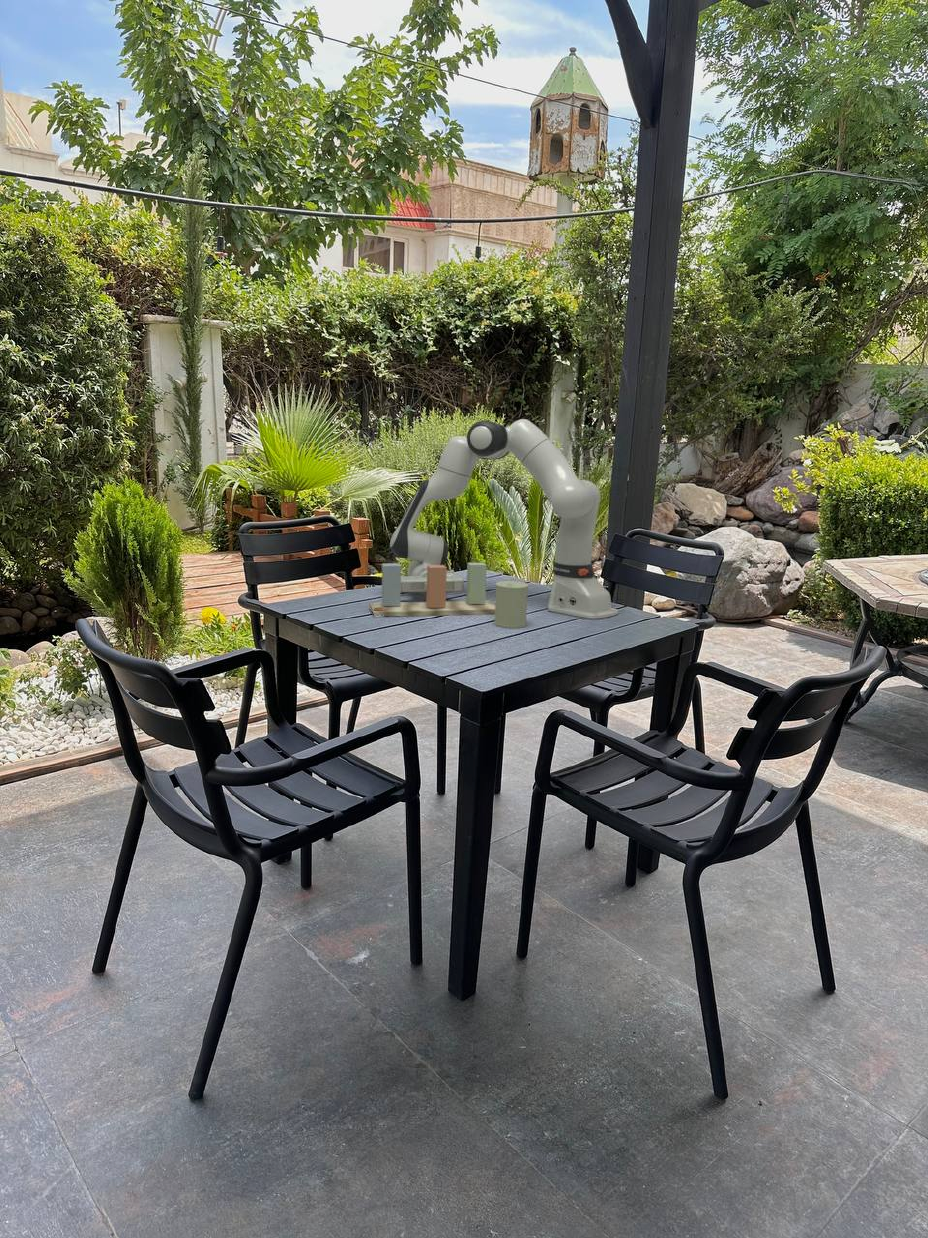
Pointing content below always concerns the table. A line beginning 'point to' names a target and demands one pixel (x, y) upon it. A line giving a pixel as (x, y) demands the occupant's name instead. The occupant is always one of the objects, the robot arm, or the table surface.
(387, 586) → the slate key
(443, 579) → the terracotta key
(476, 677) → the table surface
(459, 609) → the wooden board
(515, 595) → the can
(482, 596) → the sage key
